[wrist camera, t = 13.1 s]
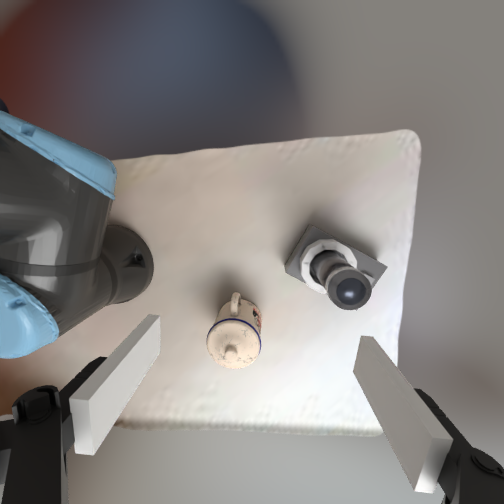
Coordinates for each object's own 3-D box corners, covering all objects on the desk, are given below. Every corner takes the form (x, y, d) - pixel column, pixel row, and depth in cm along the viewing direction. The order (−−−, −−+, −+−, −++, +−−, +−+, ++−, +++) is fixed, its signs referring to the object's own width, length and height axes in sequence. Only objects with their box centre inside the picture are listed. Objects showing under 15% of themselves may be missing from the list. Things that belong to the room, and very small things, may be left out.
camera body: (284, 266, 45) (286, 277, 38) (309, 223, 42) (316, 228, 36) (349, 300, 45) (362, 317, 39) (377, 260, 43) (395, 271, 37)
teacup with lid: (262, 339, 48) (260, 383, 37) (218, 338, 49) (202, 380, 38) (262, 283, 46) (260, 311, 34) (216, 282, 46) (198, 310, 35)
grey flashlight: (313, 278, 40) (334, 315, 28) (306, 252, 40) (325, 277, 27) (341, 271, 40) (376, 305, 27) (335, 244, 39) (368, 266, 26)
